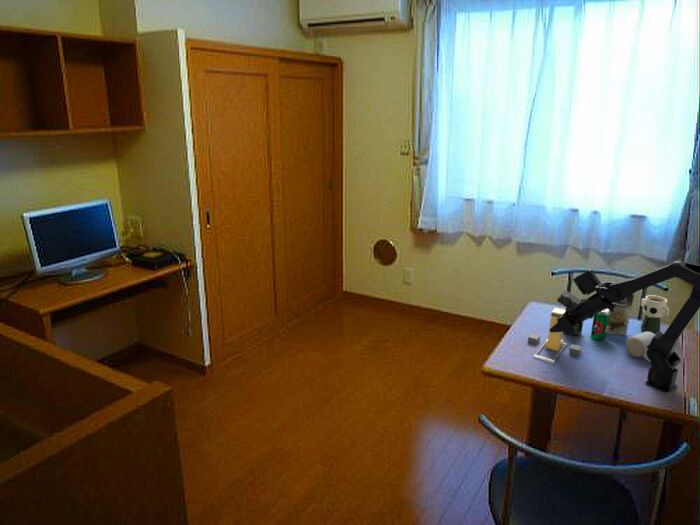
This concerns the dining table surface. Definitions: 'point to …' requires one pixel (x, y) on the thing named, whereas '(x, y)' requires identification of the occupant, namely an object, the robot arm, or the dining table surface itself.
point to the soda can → (600, 325)
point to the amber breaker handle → (555, 337)
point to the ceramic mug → (639, 344)
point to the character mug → (653, 312)
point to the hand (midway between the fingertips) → (551, 328)
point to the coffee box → (620, 317)
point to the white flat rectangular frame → (573, 350)
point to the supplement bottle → (578, 331)
